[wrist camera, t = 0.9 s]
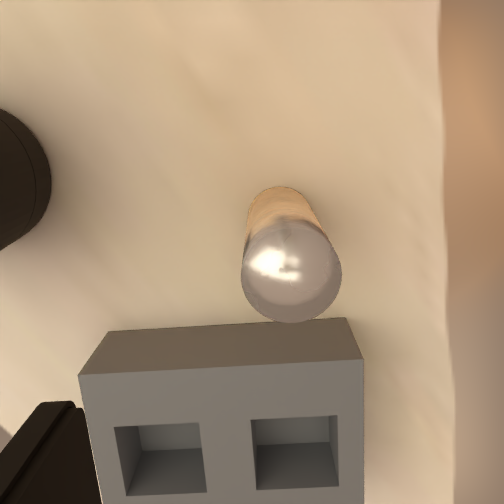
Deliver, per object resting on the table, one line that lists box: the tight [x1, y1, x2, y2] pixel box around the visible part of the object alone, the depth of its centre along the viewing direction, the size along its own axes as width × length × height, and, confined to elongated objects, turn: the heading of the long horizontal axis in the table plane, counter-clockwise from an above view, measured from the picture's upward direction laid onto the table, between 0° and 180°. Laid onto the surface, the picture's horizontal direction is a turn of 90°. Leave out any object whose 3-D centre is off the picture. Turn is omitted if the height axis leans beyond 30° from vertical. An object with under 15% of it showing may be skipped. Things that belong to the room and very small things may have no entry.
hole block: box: [78, 318, 364, 504], centre depth 30 cm, size 12×16×6 cm
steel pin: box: [241, 187, 342, 323], centre depth 24 cm, size 4×4×11 cm
